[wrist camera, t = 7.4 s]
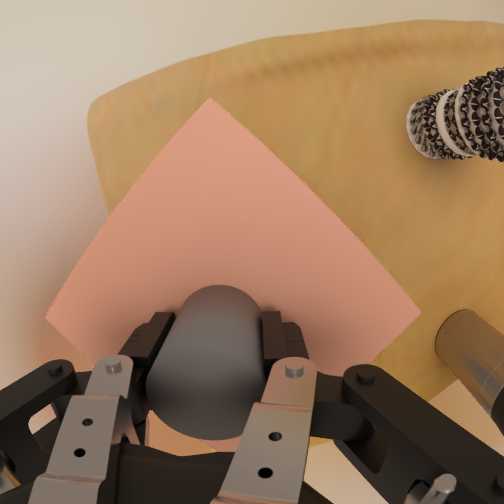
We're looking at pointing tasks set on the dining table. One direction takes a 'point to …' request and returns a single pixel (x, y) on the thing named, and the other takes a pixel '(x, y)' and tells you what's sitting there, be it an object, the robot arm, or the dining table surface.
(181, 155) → the lid
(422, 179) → the dining table surface
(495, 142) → the decorative candle
